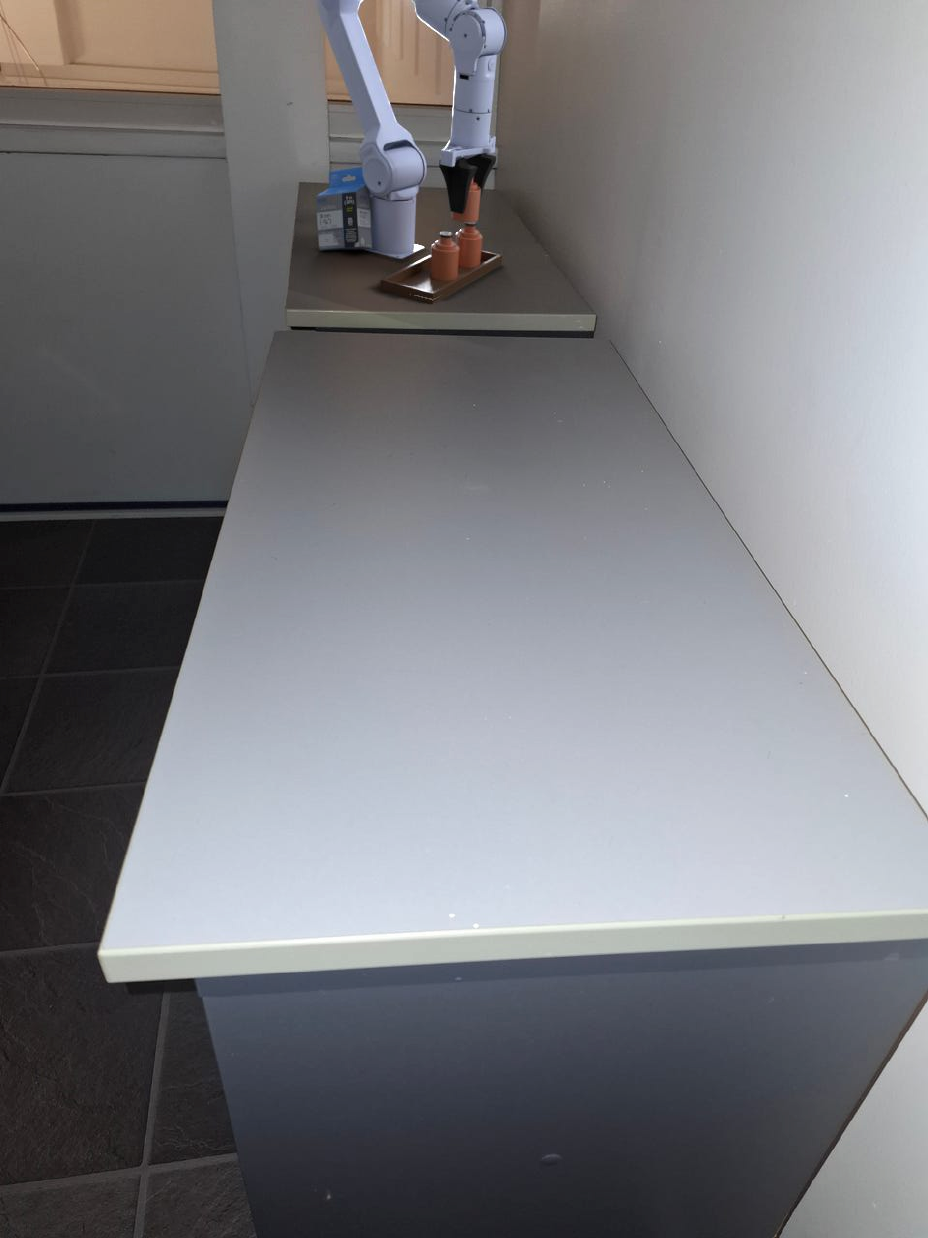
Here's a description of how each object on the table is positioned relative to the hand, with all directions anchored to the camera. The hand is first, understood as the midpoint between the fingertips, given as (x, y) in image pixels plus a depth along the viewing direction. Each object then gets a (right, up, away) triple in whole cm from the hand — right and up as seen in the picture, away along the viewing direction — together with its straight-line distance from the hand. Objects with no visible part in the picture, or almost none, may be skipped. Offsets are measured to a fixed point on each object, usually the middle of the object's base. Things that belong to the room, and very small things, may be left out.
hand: (464, 208), depth 134 cm
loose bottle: (0, -1, +1) cm, 1 cm away
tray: (-3, -10, +3) cm, 11 cm away
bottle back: (0, -5, +8) cm, 10 cm away
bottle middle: (-3, -9, +3) cm, 10 cm away
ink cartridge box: (-20, -3, +8) cm, 22 cm away
